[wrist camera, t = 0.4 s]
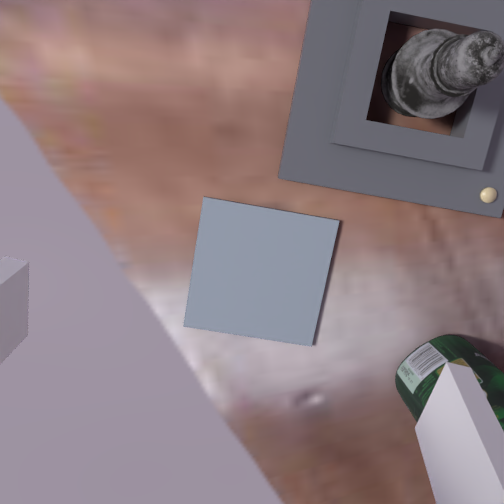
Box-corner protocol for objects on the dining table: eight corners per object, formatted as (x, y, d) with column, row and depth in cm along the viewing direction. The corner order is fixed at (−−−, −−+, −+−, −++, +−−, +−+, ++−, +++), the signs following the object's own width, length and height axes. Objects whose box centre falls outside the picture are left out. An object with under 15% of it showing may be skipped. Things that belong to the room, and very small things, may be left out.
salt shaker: (463, 49, 36) (571, 5, 24) (440, 128, 37) (532, 122, 26) (388, 31, 36) (461, -22, 24) (368, 111, 37) (428, 98, 25)
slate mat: (203, 196, 38) (203, 197, 38) (338, 220, 39) (339, 220, 38) (183, 324, 40) (183, 326, 40) (310, 344, 41) (311, 346, 41)
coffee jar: (511, 393, 43) (711, 578, 25) (438, 444, 44) (579, 657, 26) (452, 314, 41) (620, 452, 23) (377, 369, 42) (481, 542, 24)
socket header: (325, -75, 34) (331, -92, 31) (564, -24, 35) (588, -36, 33) (277, 177, 38) (280, 180, 35) (494, 216, 39) (511, 221, 37)
